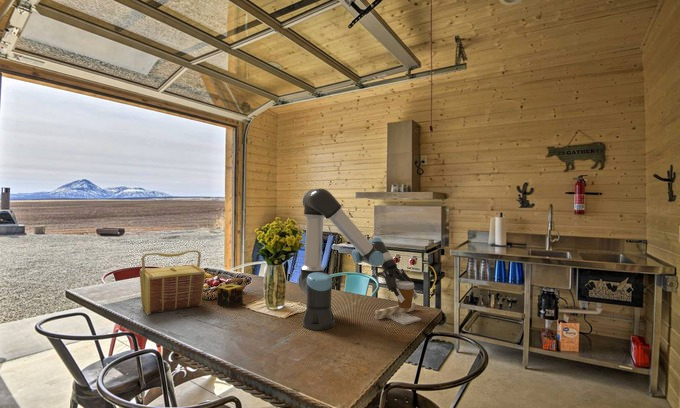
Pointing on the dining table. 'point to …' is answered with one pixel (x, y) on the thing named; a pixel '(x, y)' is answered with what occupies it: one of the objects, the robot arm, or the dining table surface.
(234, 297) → the candle
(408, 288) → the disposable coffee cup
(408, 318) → the white napkin
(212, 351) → the dining table surface
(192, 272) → the picnic basket
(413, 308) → the jamb strip
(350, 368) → the dining table surface
